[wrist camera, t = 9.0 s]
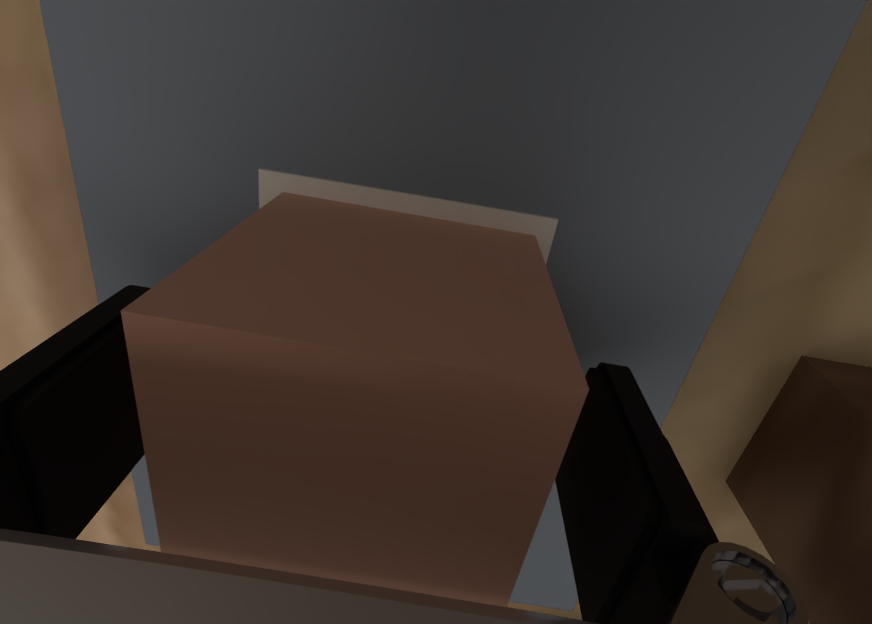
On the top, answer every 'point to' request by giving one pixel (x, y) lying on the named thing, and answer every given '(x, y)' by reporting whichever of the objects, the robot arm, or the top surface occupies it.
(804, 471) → the walnut block
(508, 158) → the board
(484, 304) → the terracotta block
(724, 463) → the top surface
